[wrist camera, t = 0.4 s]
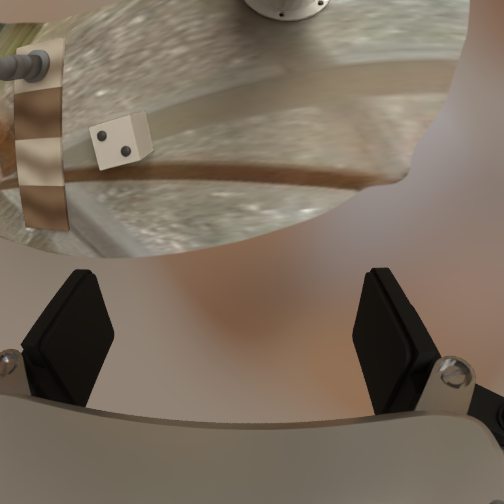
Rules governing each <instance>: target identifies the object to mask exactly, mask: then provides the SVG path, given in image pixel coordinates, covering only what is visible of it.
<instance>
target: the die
mask: <svg viewBox="0 0 504 504" xmlns="http://www.w3.org/2000/svg"><path fill="white" fill-rule="evenodd" d="M89 129H90V134H91V138H92V142H93V146H94V150H95V154H96V158H97V161H98V165H99V169H100V170H104V169H108V168H112V167H115V166H119V165H123V164H127V163H131V162H136V161H140V160H142V159H143V158H144V157H146V156H147V155H148V154H150V153H151V152H153V151H154V149H153V144H152V140H151V135H150V131H149V126H148V121H147V117H146V112H145V111H142V112H138V113H134V114H131V115H127V116H124V117H121V118H117V119H114V120H111V121H107V122H104V123H101V124H98V125H95V126H92V127H89Z"/></svg>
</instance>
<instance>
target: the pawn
mask: <svg viewBox="0 0 504 504" xmlns="http://www.w3.org/2000/svg"><path fill="white" fill-rule="evenodd" d="M49 67H50V58H49V55H48V53H47V52H46V51H44V50H33V51H31V52H30V53H29V54H27V55H9V56H5V57H3V58H2V59H1V60H0V80H6V81H10V80H18V79H24V80H25V81H26V82H28V83H35V82H39V81H41V80H42V79H43V78H44V77H45V76H46V74H47V73H48V70H49Z"/></svg>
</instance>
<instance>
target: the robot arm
mask: <svg viewBox="0 0 504 504" xmlns="http://www.w3.org/2000/svg"><path fill="white" fill-rule="evenodd" d="M244 1H245V2H246V4H247V5H248V6H249V7H250V8H252V9H253V10H254V11H256V12H257V13H259V14H261V15H263V16H265V17H267V18H270V19H273V20H279V21H299V20H304V19H307V18H310V17H312V16H314V15H316V14H317V13H319V12H320V11H321V10H323V9H324V8H325V7H326V5H327V4H328V2H329V1H330V0H244ZM318 3H320V4H321V6H320V5H318ZM280 14H282V15H283V17H280V16H279V15H280ZM352 338H353V343H354V346H355V349H356V352H357V355H358V358H359V362H360V365H361V368H362V372H363V375H364V378H365V382H366V385H367V388H368V392H369V395H370V399H371V402H372V406H373V409H374V413H375V415H373V416H365V417H357V418H346V419H336V420H325V421H312V422H294V423H293V422H292V423H212V422H193V421H180V420H169V419H159V418H149V417H142V416H134V415H127V414H120V413H113V412H107V411H101V410H96V409H90V408H85V407H86V404H87V402H88V399H89V396H90V394H91V391H92V389H93V387H94V384H95V382H96V379H97V377H98V375H99V372H100V370H101V367H102V365H103V363H104V360H105V358H106V355H107V353H108V351H109V348H110V346H111V344H112V342H113V340H114V329H113V327H112V324H111V321H110V318H109V315H108V312H107V309H106V306H105V303H104V300H103V297H102V294H101V291H100V288H99V284H98V281H97V278H96V276H95V274H92V272H91V271H90V270H81V269H77V270H75V271H73V272H72V274H71V275H70V276H69V278H68V279H67V280H66V281H65V283H64V284H63V285H62V287H61V288H60V289H59V291H58V292H57V293H56V295H55V296H54V297H53V299H52V300H51V301H50V303H49V304H48V305H47V307H46V308H45V310H44V311H43V312H42V314H41V315H40V317H39V318H38V320H37V321H36V323H35V324H34V325H33V327H32V328H31V330H30V331H29V333H28V334H27V336H26V337H25V339H24V340H23V342H22V343H21V346H22V348H23V349H24V350H23V352H22V353H20V352H19V351H18V350H15V349H7V350H4V351H2V352H0V504H504V397H502V396H500V395H498V394H496V393H494V392H492V391H490V390H488V389H486V388H484V387H482V386H480V385H478V384H476V374H475V371H474V369H473V368H472V366H471V365H470V364H469V363H468V362H467V361H466V360H464V359H462V358H460V357H457V356H444V357H441V355H440V353H439V351H438V350H437V348H436V346H435V344H434V342H433V340H432V338H431V337H430V335H429V333H428V332H427V329H426V328H425V326H424V324H423V322H422V320H421V319H420V317H419V315H418V313H417V312H416V310H415V308H414V307H413V306H412V305H411V304H410V302H409V300H408V299H407V297H406V295H405V294H404V292H403V290H402V289H401V287H400V285H399V284H398V282H397V280H396V279H395V277H394V275H393V274H392V272H391V271H390V269H389V268H372V269H371V271H370V272H368V273H366V275H365V279H364V284H363V288H362V293H361V298H360V302H359V307H358V311H357V316H356V320H355V325H354V328H353V334H352Z"/></svg>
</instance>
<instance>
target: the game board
mask: <svg viewBox="0 0 504 504" xmlns="http://www.w3.org/2000/svg"><path fill="white" fill-rule="evenodd" d="M65 43H66V37H62V38H57V39H52V40H48V41H43V42H39V43H35V44H31V45H27V46H24V47H20V48H17V53H16V55H27V54H29V53H30V52H31V51H33V50H44V51H46V52H47V53H48V55H49V58H50V67H49V70H48V73H47V74H46V76H45V77H44V78H43V79H42V80H41V81H39V82H35V83H28V82H26V81H25V80H24V79H18V80H15V84H14V127H15V147H16V160H17V170H18V180H19V188H20V195H21V202H22V208H23V214H24V220H25V226H26V227H31V228H41V229H51V230H62V231H69V230H70V227H69V220H68V212H67V203H66V194H65V183H64V170H63V153H62V82H63V65H64V53H65Z"/></svg>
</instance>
